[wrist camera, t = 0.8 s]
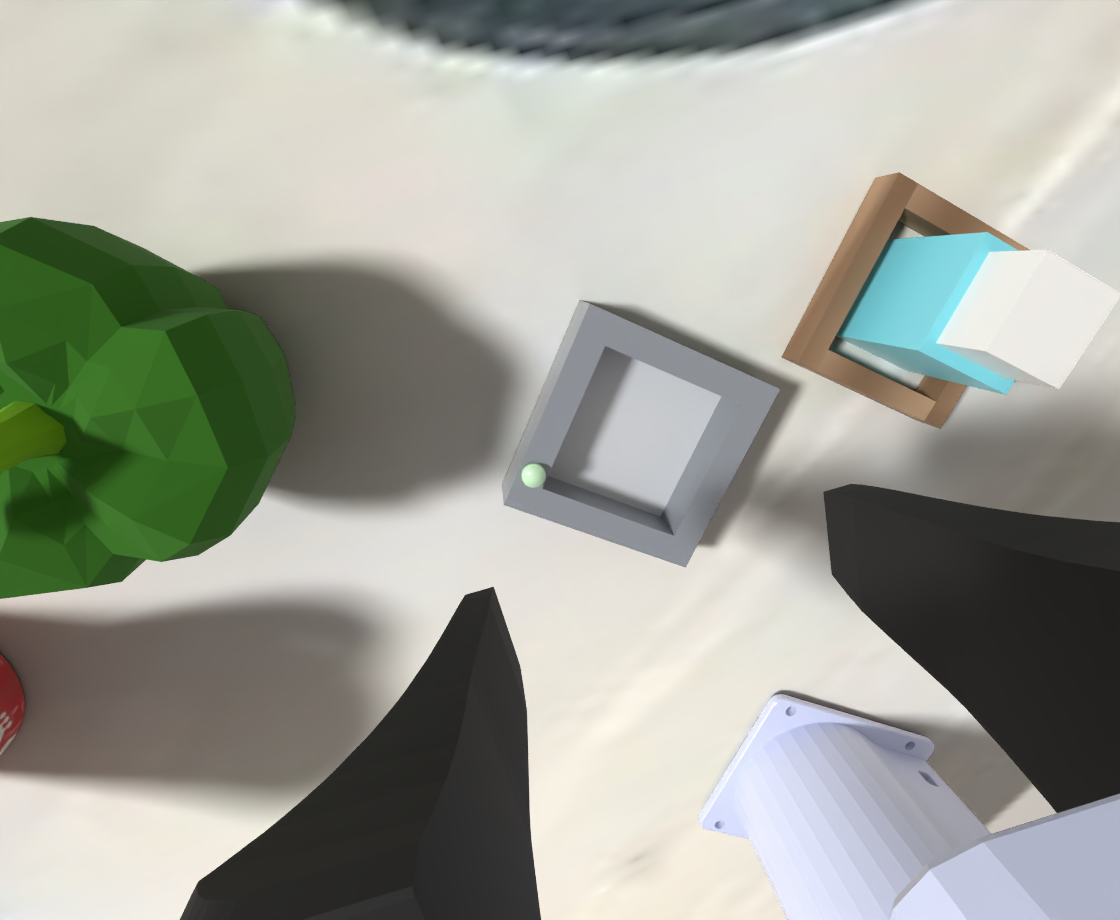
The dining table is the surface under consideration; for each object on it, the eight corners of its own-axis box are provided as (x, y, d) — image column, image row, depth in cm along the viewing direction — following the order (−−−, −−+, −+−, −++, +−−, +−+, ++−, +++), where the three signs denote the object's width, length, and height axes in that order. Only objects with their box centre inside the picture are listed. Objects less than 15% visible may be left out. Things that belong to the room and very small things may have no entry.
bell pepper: (258, 202, 18) (-1, 124, 8) (366, 445, 20) (264, 596, 11) (-8, 285, 17) (-588, 303, 8) (137, 519, 20) (-167, 738, 11)
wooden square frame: (1014, 259, 21) (1045, 258, 20) (917, 420, 23) (940, 428, 22) (875, 178, 20) (899, 172, 18) (781, 357, 21) (798, 362, 20)
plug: (960, 281, 21) (1141, 286, 15) (908, 371, 22) (1060, 407, 16) (885, 239, 20) (1046, 227, 15) (833, 334, 21) (966, 359, 15)
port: (754, 378, 21) (784, 390, 19) (668, 543, 23) (688, 571, 21) (579, 300, 20) (591, 303, 17) (502, 484, 21) (504, 508, 19)
